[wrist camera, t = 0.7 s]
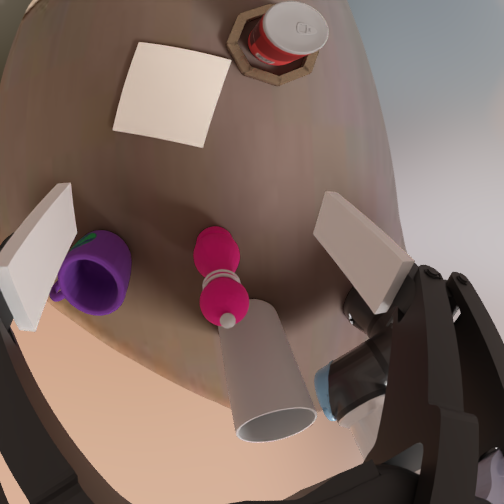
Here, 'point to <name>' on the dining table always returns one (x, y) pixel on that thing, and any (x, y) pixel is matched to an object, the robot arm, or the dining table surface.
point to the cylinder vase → (264, 378)
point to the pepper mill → (220, 278)
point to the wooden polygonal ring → (254, 72)
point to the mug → (95, 274)
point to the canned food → (288, 33)
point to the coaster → (170, 93)
